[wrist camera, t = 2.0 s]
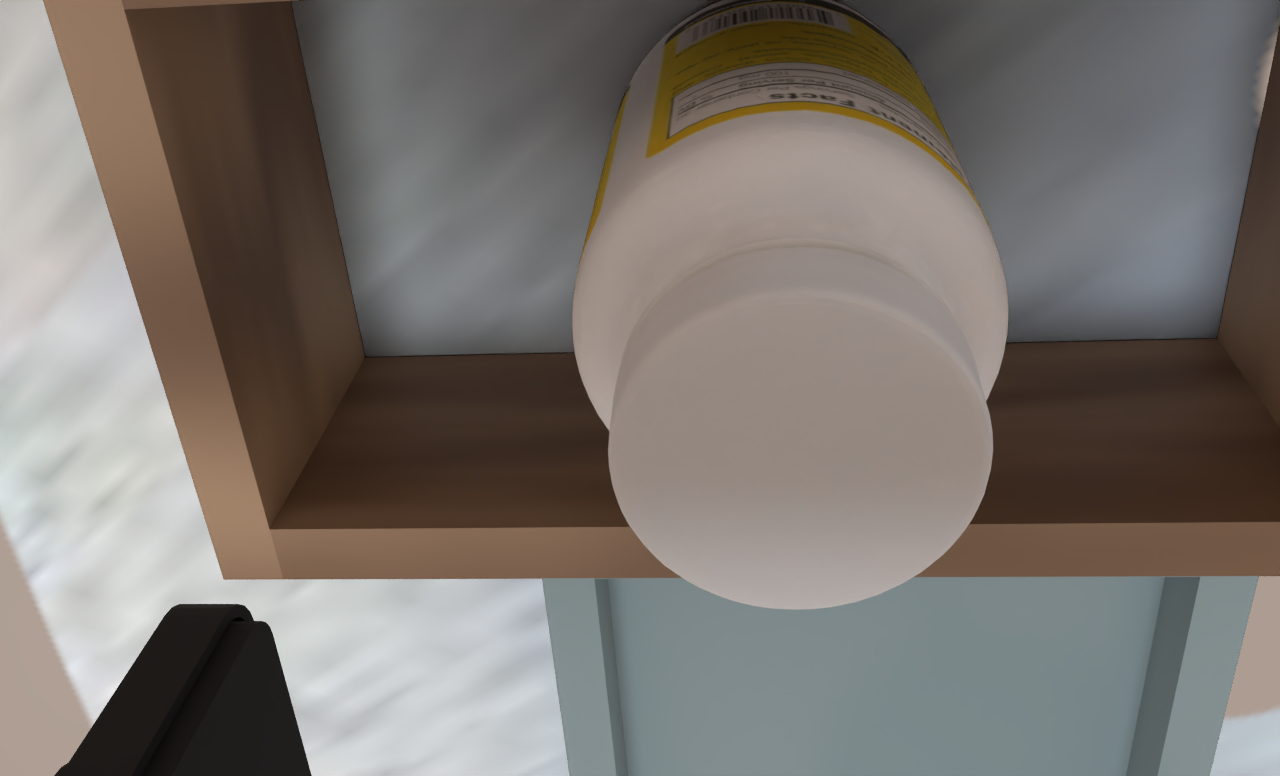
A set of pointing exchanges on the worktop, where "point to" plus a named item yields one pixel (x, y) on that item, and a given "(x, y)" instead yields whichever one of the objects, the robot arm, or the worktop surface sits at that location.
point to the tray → (899, 677)
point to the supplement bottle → (789, 309)
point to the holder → (574, 364)
